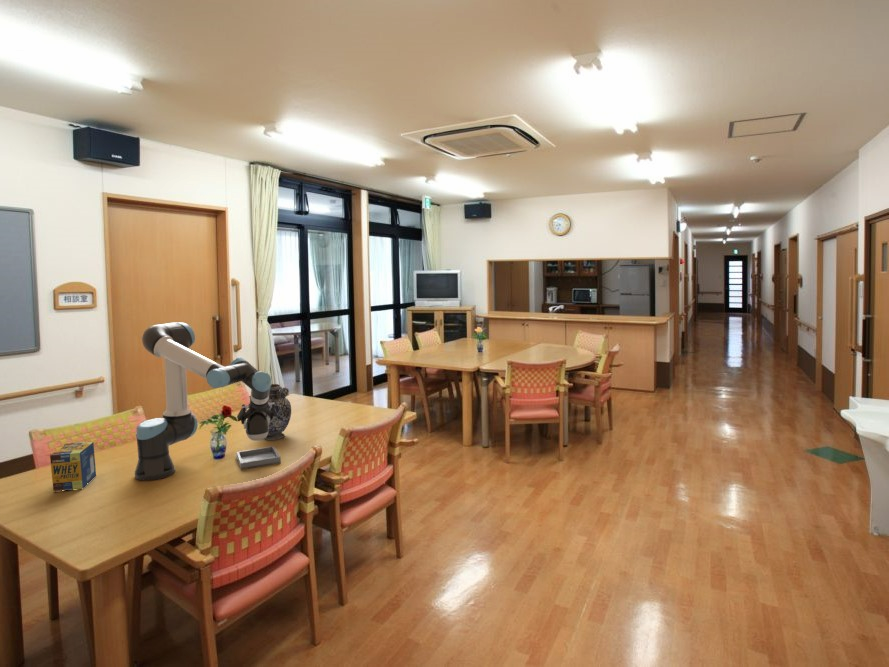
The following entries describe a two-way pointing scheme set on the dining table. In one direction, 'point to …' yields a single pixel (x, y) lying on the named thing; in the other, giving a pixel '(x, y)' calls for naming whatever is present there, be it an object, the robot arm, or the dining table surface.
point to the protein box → (73, 466)
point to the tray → (258, 457)
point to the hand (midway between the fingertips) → (256, 424)
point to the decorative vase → (278, 412)
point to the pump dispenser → (257, 426)
